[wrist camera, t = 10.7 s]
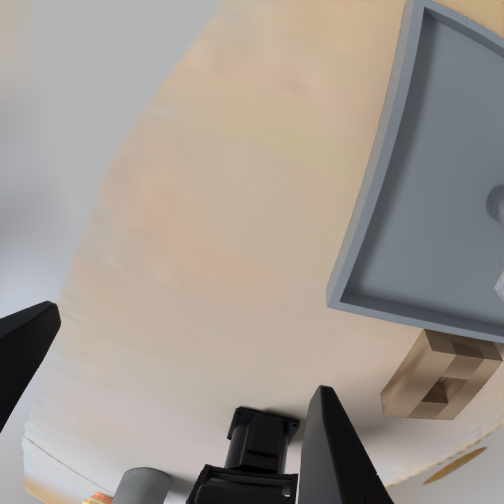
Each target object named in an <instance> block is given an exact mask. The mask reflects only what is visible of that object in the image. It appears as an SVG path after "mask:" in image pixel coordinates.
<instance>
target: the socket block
mask: <svg viewBox="0 0 504 504" xmlns="http://www.w3.org/2000/svg"><path fill="white" fill-rule="evenodd" d="M502 362H503V360H502V358H501V356H500V354H499V352H498V351H497V349H496V347H495V345H494V343H493V342H491V341H485V340H480V339H474V338H469V337H464V336H458V335H453V334H448V333H443V332H438V331H433V330H428V329H423V331H422V333H421V334H420V336H419V338H418V339H417V341H416V342H415V344H414V346H413V347H412V349H411V350H410V352H409V353H408V355H407V356H406V358H405V360H404V361H403V363H402V364H401V366H400V367H399V368H398V370H397V371H396V373H395V374H394V376H393V377H392V379H391V380H390V381H389V383H388V384H387V386H386V387H385V388H384V390H383V391H382V393H381V401H382V409H383V416H392V417H404V418H419V419H439V420H453V419H454V418H455V417H456V416H457V415H458V414H459V413H460V412H461V411H462V410H463V409H464V408H465V406H466V405H467V404H468V403H469V402H470V401H471V400H472V399H473V398H474V396H475V395H476V394H477V393H478V392H479V391H480V389H481V388H482V387H483V386H484V385H485V383H486V382H487V381H488V380H489V379H490V377H491V376H492V375H493V374H494V372H495V371H496V370H497V368H498V367H499V366H500V364H501V363H502ZM440 377H447V378H446V379H445V380H444V382H443V383H436V382H437V380H438V379H439V378H440Z"/></svg>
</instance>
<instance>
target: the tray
mask: <svg viewBox="0 0 504 504" xmlns="http://www.w3.org/2000/svg"><path fill="white" fill-rule="evenodd" d="M498 185H504V39H502V38H501V37H499V36H498V35H496V34H495V33H493V32H491V31H490V30H488V29H486V28H485V27H483V26H481V25H479V24H478V23H476V22H474V21H472V20H470V19H469V18H467V17H465V16H463V15H461V14H459V13H457V12H455V11H453V10H451V9H449V8H447V7H445V6H443V5H441V4H439V3H436V2H434V1H432V0H407V1H406V2H405V5H404V11H403V17H402V23H401V28H400V34H399V39H398V44H397V49H396V54H395V59H394V63H393V68H392V72H391V77H390V81H389V86H388V90H387V94H386V98H385V102H384V106H383V110H382V114H381V118H380V122H379V126H378V130H377V133H376V137H375V141H374V144H373V148H372V152H371V155H370V159H369V162H368V166H367V169H366V172H365V176H364V179H363V182H362V186H361V189H360V192H359V195H358V199H357V202H356V205H355V208H354V211H353V214H352V217H351V220H350V223H349V226H348V229H347V232H346V235H345V238H344V241H343V244H342V247H341V250H340V253H339V255H338V258H337V261H336V264H335V267H334V269H333V272H332V275H331V278H330V280H329V283H328V286H327V288H326V299H327V307H328V308H332V309H337V310H341V311H345V312H350V313H354V314H359V315H363V316H368V317H372V318H377V319H381V320H386V321H391V322H395V323H400V324H405V325H410V326H415V327H419V328H424V329H429V330H434V331H439V332H444V333H450V334H455V335H460V336H465V337H471V338H476V339H481V340H487V341H493V342H498V343H504V301H503V300H502V298H501V297H500V296H499V294H498V293H497V292H496V290H495V289H494V287H495V285H496V283H497V281H498V279H499V277H500V275H501V274H502V272H503V270H504V228H503V227H502V226H501V225H500V224H499V223H497V222H496V221H495V220H494V219H492V218H491V217H490V216H489V214H488V212H487V208H486V202H487V198H488V195H489V193H490V192H491V190H492V189H493V188H494V187H496V186H498Z"/></svg>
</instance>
